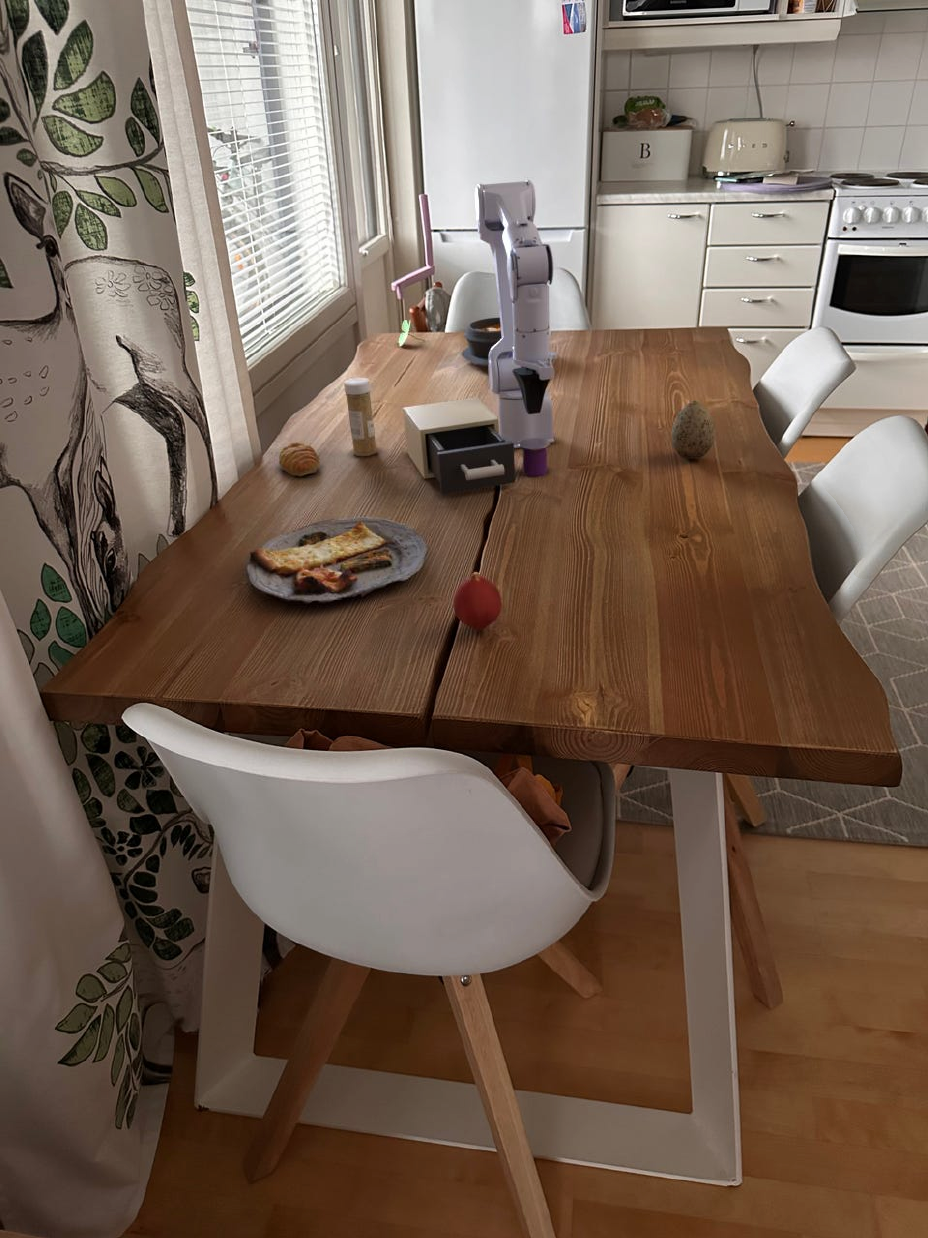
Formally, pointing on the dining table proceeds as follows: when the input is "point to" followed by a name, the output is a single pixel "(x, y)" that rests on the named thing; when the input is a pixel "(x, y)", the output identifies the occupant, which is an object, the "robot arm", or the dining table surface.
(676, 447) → the decorative egg
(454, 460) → the pod drawer
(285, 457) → the pastry
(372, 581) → the food plate
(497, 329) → the casserole
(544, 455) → the coffee pod
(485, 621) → the onion
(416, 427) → the mini desk drawer box
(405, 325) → the seedling
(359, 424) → the sprinkles bottle
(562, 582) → the dining table surface
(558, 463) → the dining table surface
